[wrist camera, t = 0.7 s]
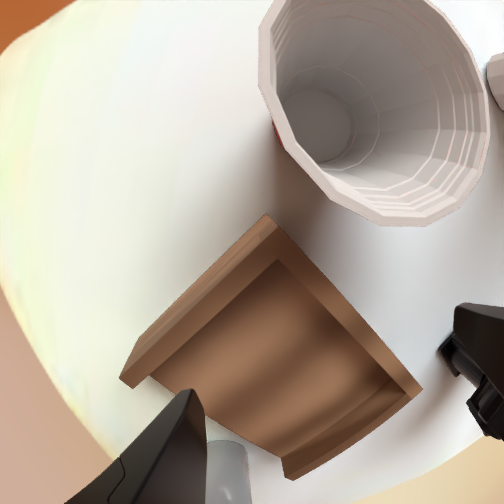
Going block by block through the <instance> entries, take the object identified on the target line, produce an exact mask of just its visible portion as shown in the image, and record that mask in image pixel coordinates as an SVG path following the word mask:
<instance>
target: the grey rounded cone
mask: <svg viewBox="0 0 504 504" xmlns="http://www.w3.org/2000/svg"><path fill="white" fill-rule="evenodd" d="M205 504H252V499H251V489H250V478H249V468H248V456H247V451H246V449H245V448H244V447H243V446H242V445H240V444H238V443H236V442H232V441H227V440H216V441H211V442H208V443H207V474H206V498H205Z"/></svg>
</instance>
